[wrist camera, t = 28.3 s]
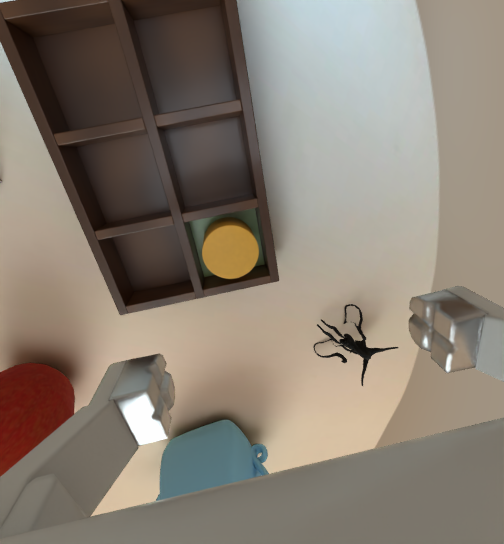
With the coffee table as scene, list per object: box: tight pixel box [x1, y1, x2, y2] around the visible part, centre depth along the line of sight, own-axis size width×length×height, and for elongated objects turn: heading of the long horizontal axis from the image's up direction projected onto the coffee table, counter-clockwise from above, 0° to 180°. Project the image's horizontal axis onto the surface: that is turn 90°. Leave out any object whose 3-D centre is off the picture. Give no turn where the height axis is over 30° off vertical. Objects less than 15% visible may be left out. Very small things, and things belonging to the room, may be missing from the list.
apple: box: [0, 363, 75, 477], centre depth 25 cm, size 10×10×14 cm
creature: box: [314, 304, 398, 386], centre depth 32 cm, size 8×5×8 cm
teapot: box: [156, 420, 269, 501], centre depth 34 cm, size 12×18×12 cm
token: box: [202, 217, 259, 279], centre depth 26 cm, size 5×5×3 cm
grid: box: [0, 0, 279, 315], centre depth 23 cm, size 15×23×4 cm
